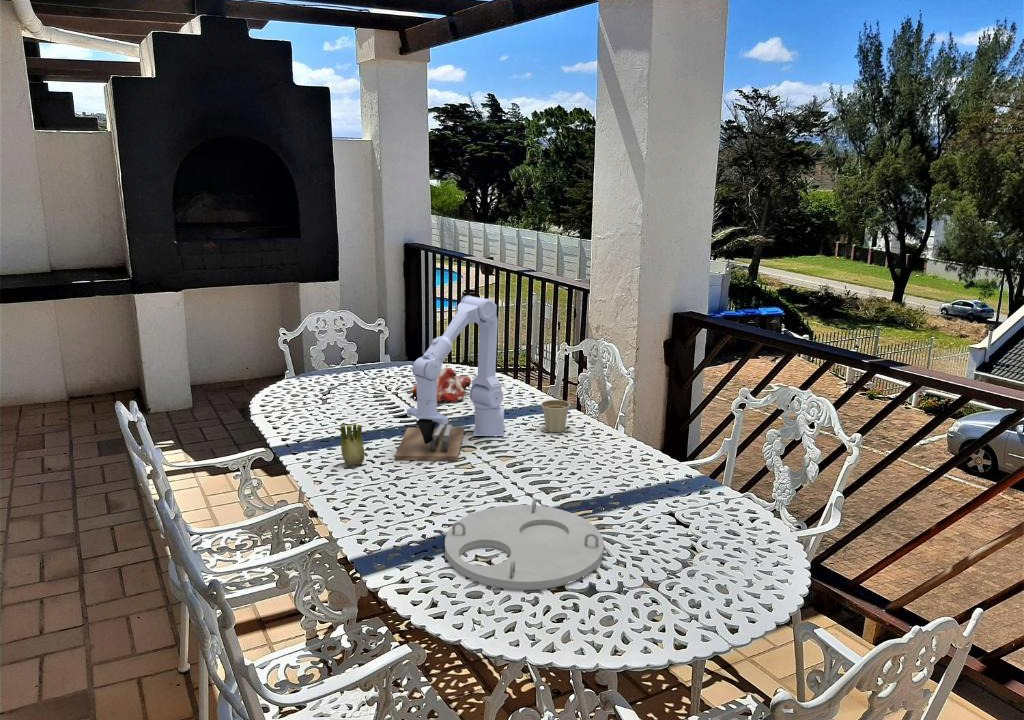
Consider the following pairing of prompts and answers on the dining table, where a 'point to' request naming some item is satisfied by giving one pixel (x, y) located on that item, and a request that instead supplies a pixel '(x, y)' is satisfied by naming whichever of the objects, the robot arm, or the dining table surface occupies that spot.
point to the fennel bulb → (352, 445)
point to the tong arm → (437, 437)
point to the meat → (449, 386)
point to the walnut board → (428, 447)
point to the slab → (526, 546)
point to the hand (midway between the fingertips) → (427, 442)
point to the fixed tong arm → (446, 438)
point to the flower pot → (555, 414)
